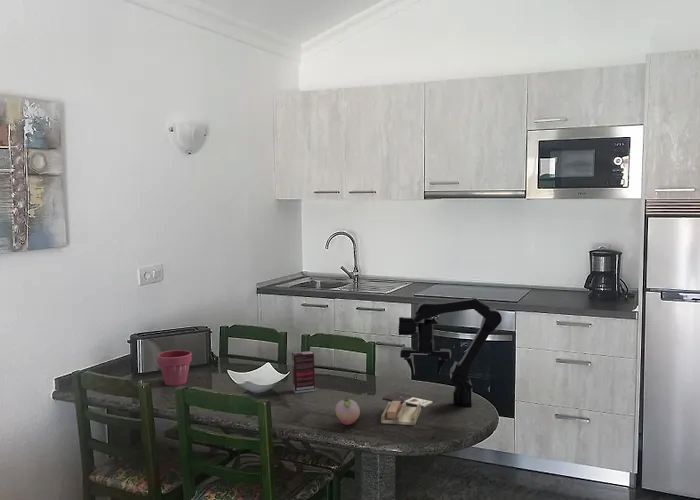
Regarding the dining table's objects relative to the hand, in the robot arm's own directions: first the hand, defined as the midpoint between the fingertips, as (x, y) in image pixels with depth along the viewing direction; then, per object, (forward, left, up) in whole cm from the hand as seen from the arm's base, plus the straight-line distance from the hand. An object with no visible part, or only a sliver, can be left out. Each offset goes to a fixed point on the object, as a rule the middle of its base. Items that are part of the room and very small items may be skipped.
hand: (425, 375), depth 257 cm
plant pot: (+109, -8, -11) cm, 110 cm away
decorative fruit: (+24, +28, -11) cm, 38 cm away
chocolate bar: (+7, -2, -12) cm, 14 cm away
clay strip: (+10, +16, -10) cm, 21 cm away
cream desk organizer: (+7, +16, -11) cm, 21 cm away
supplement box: (+51, -7, -11) cm, 53 cm away
